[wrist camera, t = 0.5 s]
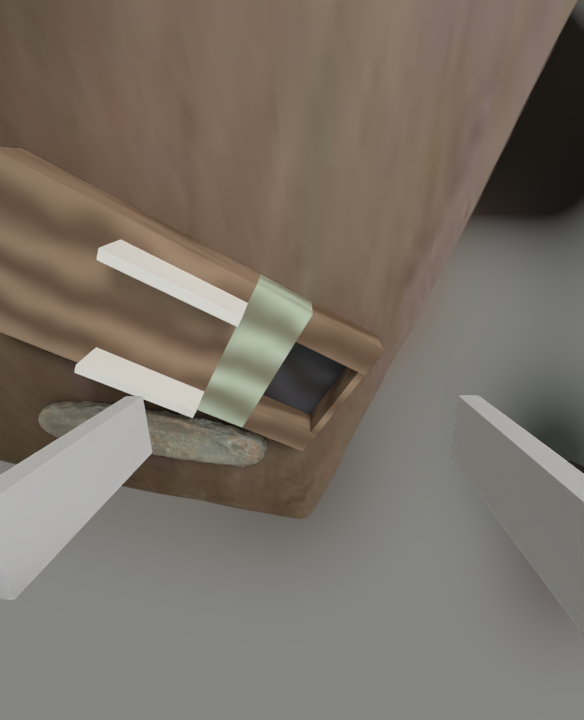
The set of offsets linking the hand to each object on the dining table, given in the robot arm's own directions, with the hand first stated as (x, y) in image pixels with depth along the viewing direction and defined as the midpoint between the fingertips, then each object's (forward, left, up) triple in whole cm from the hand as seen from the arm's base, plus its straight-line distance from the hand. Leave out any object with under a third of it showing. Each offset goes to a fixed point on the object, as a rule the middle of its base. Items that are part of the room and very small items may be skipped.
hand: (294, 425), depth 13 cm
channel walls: (+13, -10, -23) cm, 28 cm away
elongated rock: (+34, -7, -27) cm, 44 cm away
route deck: (+13, -8, -27) cm, 31 cm away
